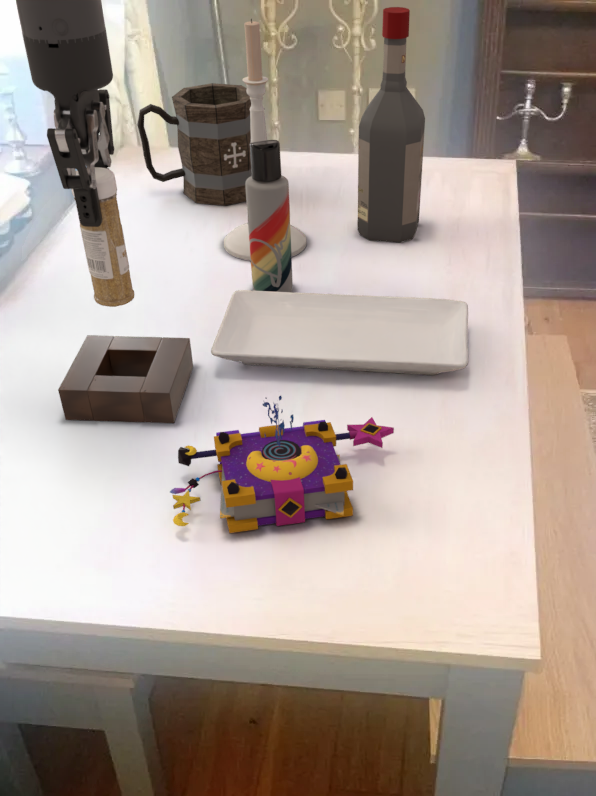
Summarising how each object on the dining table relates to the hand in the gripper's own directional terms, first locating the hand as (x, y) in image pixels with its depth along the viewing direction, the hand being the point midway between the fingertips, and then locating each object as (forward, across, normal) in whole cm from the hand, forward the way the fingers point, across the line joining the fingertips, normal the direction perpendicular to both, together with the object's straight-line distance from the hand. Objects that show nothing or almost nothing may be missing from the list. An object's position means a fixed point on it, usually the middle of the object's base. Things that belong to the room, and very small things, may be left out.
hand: (98, 214), depth 94 cm
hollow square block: (+21, 0, 0) cm, 21 cm away
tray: (+21, -12, +25) cm, 35 cm away
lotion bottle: (+21, -28, +14) cm, 38 cm away
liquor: (+21, -50, +30) cm, 62 cm away
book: (+21, +18, +21) cm, 35 cm away
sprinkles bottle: (+10, 0, 0) cm, 10 cm away
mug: (+21, -65, -2) cm, 68 cm away
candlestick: (+21, -44, +11) cm, 50 cm away
